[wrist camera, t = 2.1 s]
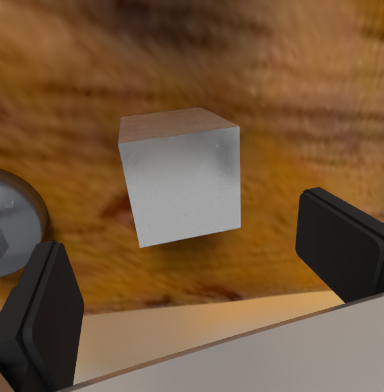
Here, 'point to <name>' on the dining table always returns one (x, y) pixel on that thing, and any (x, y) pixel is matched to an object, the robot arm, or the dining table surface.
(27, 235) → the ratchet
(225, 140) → the brushed metal cube
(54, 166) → the dining table surface
